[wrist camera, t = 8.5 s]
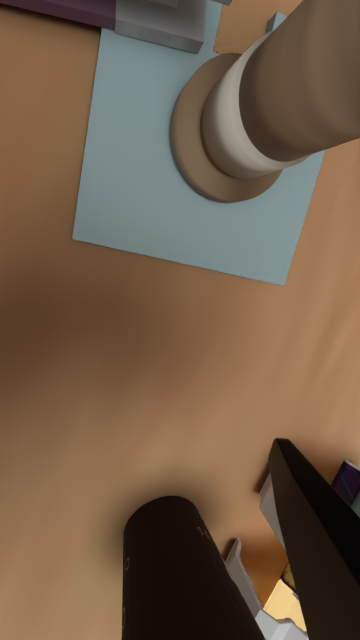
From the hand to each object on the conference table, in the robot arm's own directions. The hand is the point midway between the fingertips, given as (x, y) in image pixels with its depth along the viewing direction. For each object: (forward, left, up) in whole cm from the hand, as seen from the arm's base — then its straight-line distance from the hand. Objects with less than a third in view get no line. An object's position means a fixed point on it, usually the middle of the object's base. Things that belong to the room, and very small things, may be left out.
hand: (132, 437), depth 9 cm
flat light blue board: (+4, +12, -11) cm, 17 cm away
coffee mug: (+7, -18, -11) cm, 22 cm away
